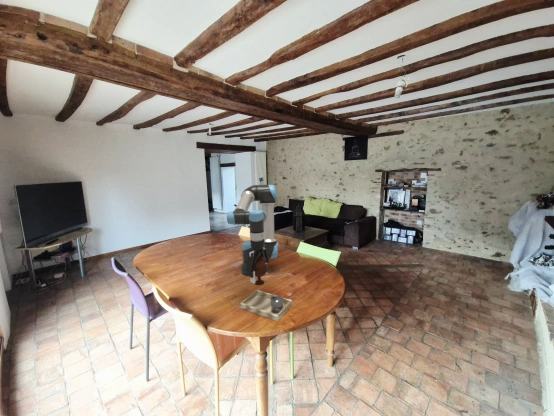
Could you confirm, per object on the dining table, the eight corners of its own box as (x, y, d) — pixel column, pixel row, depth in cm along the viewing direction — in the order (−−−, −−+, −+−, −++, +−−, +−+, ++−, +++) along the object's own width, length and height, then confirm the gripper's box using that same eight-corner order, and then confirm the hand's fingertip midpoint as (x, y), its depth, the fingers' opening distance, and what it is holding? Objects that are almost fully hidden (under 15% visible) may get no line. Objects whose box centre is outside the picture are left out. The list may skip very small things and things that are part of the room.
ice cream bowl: (250, 278, 129) (248, 254, 126) (269, 278, 129) (268, 253, 127) (248, 288, 119) (246, 261, 116) (269, 287, 119) (268, 260, 116)
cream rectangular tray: (240, 309, 123) (239, 303, 123) (257, 295, 137) (256, 289, 136) (277, 323, 111) (277, 316, 111) (292, 306, 125) (292, 300, 124)
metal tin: (269, 311, 119) (268, 300, 118) (275, 304, 125) (274, 294, 124) (279, 314, 116) (279, 304, 115) (285, 308, 122) (285, 298, 121)
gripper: (249, 247, 108) (251, 289, 112) (274, 234, 128) (275, 271, 131) (237, 244, 112) (240, 285, 115) (263, 233, 132) (265, 268, 135)
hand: (259, 278), depth 123 cm, fingers closed on ice cream bowl, 11 cm apart
